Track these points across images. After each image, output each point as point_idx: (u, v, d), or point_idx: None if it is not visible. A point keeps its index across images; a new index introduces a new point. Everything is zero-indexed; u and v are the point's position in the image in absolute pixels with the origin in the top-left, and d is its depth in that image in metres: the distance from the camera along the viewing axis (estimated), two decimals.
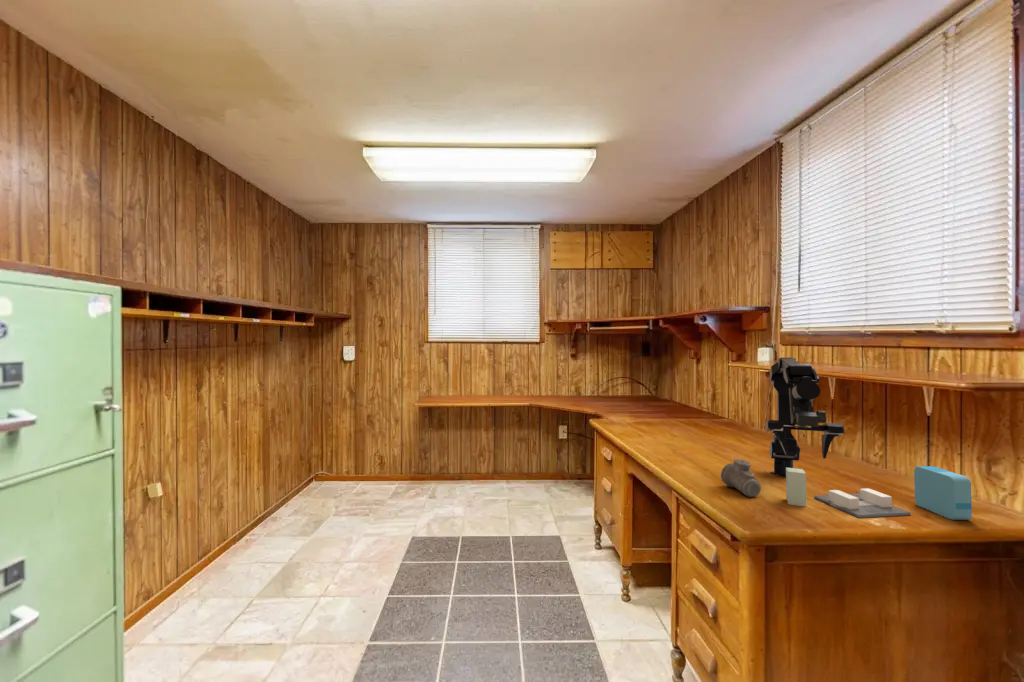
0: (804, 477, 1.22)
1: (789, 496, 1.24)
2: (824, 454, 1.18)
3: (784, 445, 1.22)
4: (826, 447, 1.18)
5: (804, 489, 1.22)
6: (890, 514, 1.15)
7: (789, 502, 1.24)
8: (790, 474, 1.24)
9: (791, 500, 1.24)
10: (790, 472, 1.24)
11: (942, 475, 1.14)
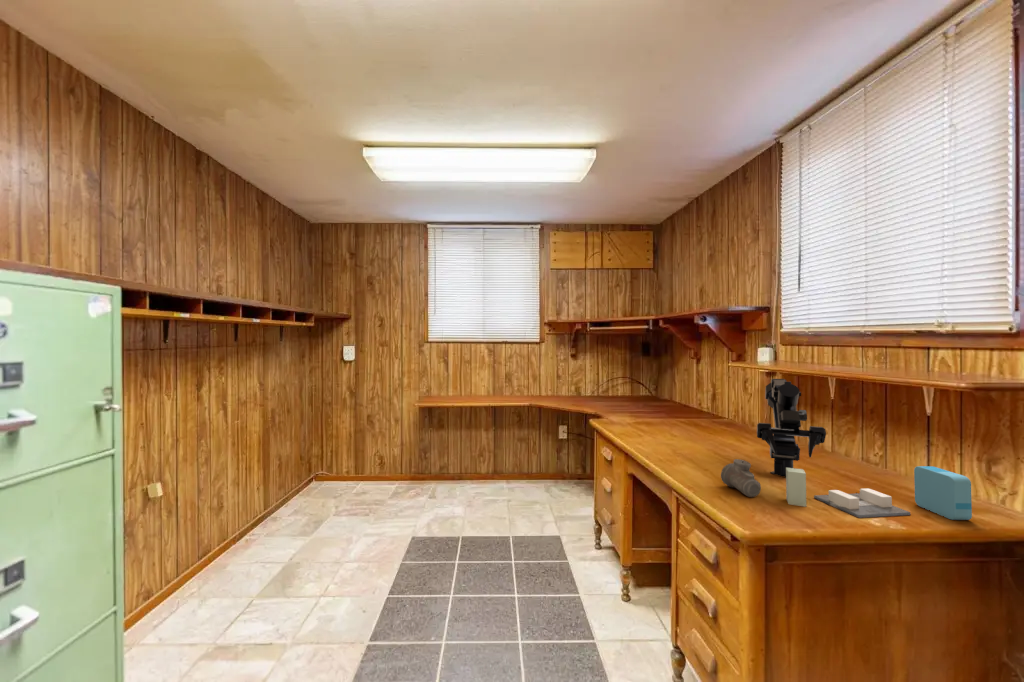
0: (804, 477, 1.22)
1: (789, 496, 1.24)
2: (810, 452, 1.28)
3: (773, 444, 1.34)
4: (811, 446, 1.29)
5: (804, 489, 1.22)
6: (890, 514, 1.15)
7: (789, 502, 1.24)
8: (790, 474, 1.24)
9: (791, 500, 1.24)
10: (790, 472, 1.24)
11: (942, 475, 1.14)
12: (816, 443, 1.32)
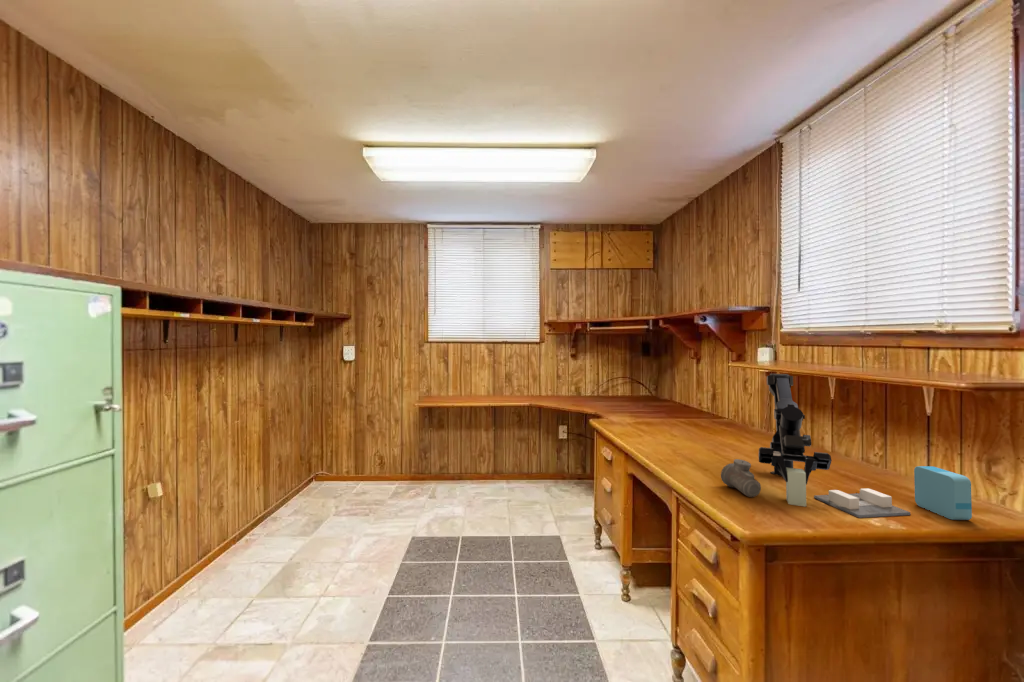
0: (804, 477, 1.22)
1: (789, 496, 1.24)
2: None
3: (783, 471, 1.26)
4: (807, 472, 1.24)
5: (804, 489, 1.22)
6: (890, 514, 1.15)
7: (789, 502, 1.24)
8: (790, 474, 1.24)
9: (791, 500, 1.24)
10: (790, 472, 1.24)
11: (942, 475, 1.14)
12: (812, 469, 1.27)
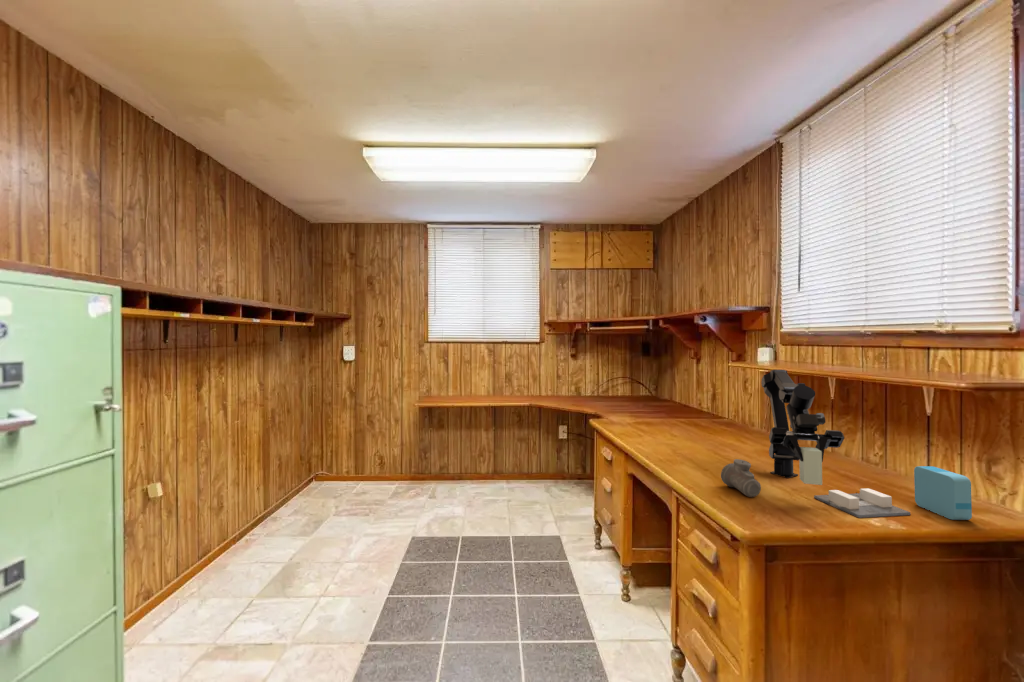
0: (820, 455, 1.21)
1: (805, 475, 1.22)
2: None
3: (798, 450, 1.25)
4: (821, 450, 1.23)
5: (820, 467, 1.21)
6: (890, 514, 1.15)
7: (805, 481, 1.22)
8: (806, 453, 1.22)
9: (806, 479, 1.22)
10: (806, 451, 1.22)
11: (942, 475, 1.14)
12: None
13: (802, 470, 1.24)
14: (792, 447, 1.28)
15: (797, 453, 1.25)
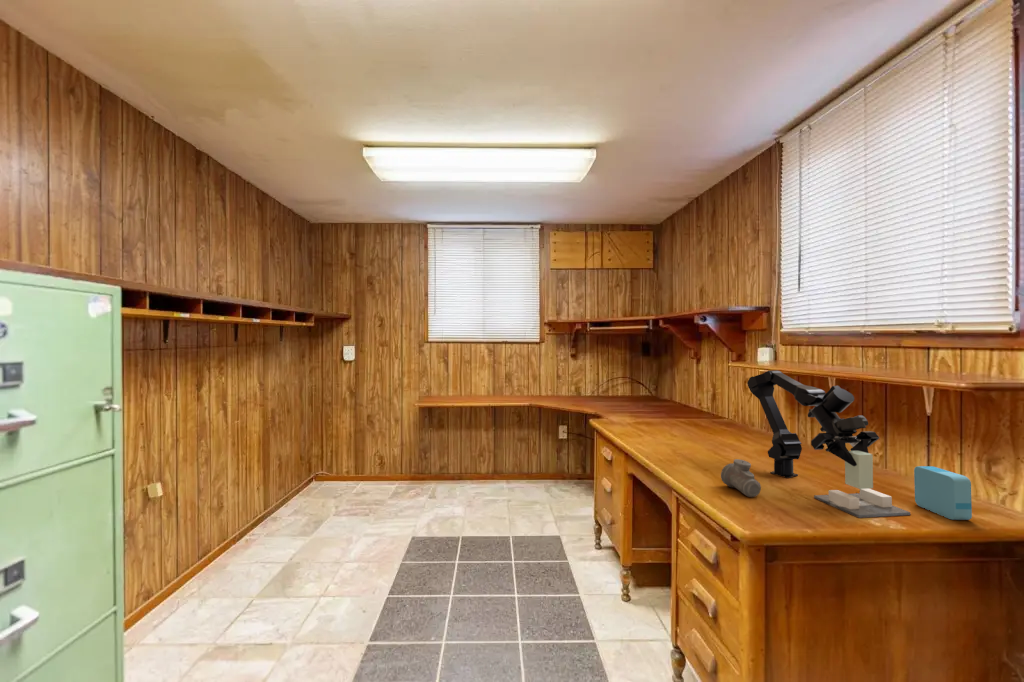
0: (871, 458, 1.20)
1: (859, 480, 1.20)
2: None
3: (849, 455, 1.22)
4: None
5: (871, 470, 1.20)
6: (890, 514, 1.15)
7: (859, 486, 1.20)
8: (860, 457, 1.20)
9: (861, 484, 1.20)
10: (860, 455, 1.20)
11: (942, 475, 1.14)
12: None
13: (853, 475, 1.21)
14: (837, 452, 1.25)
15: (848, 458, 1.22)
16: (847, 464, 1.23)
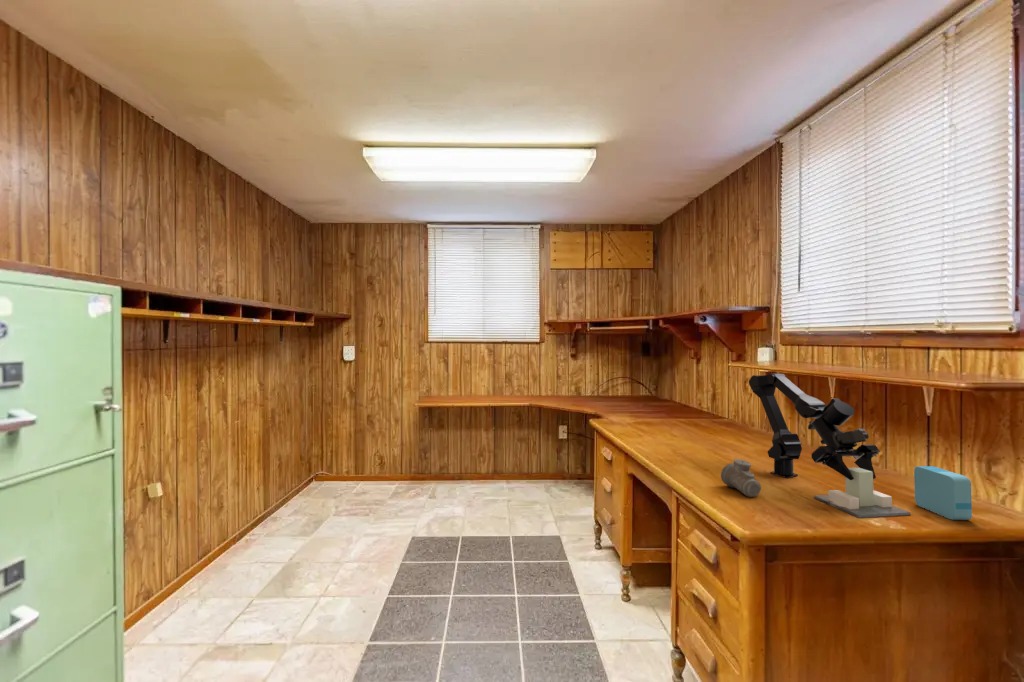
0: (872, 476, 1.20)
1: (860, 498, 1.20)
2: (873, 474, 1.21)
3: (846, 469, 1.22)
4: (871, 466, 1.23)
5: (872, 488, 1.20)
6: (890, 514, 1.15)
7: (860, 504, 1.20)
8: (860, 475, 1.20)
9: (861, 502, 1.20)
10: (860, 473, 1.20)
11: (942, 475, 1.14)
12: None
13: (854, 492, 1.21)
14: (834, 465, 1.25)
15: (845, 472, 1.22)
16: (847, 481, 1.23)
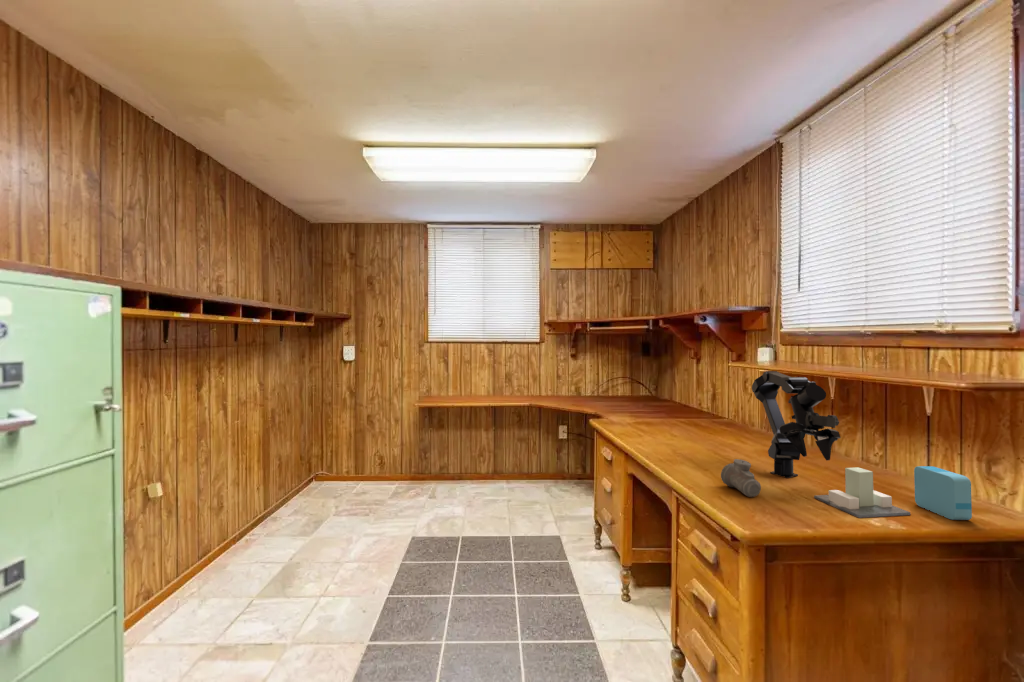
0: (872, 476, 1.20)
1: (860, 498, 1.20)
2: (828, 456, 1.31)
3: (804, 446, 1.29)
4: (829, 450, 1.32)
5: (872, 488, 1.20)
6: (890, 514, 1.15)
7: (860, 504, 1.20)
8: (860, 475, 1.20)
9: (861, 502, 1.20)
10: (860, 473, 1.20)
11: (942, 475, 1.14)
12: None
13: (854, 492, 1.21)
14: (794, 440, 1.32)
15: (801, 448, 1.30)
16: (847, 481, 1.23)
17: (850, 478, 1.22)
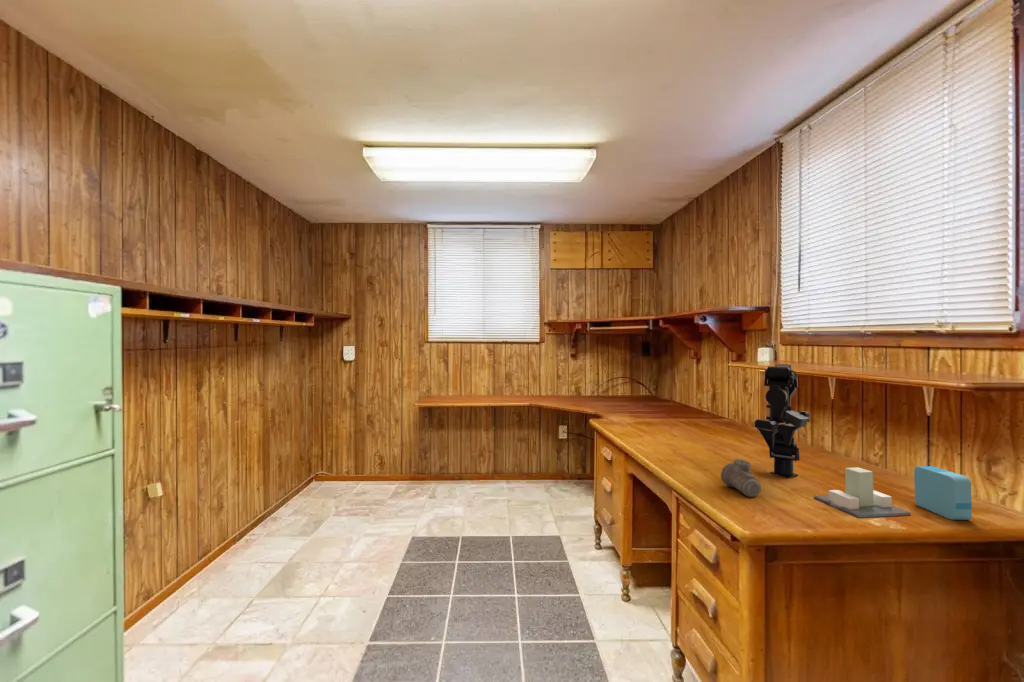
0: (872, 476, 1.20)
1: (860, 498, 1.20)
2: (789, 442, 1.43)
3: (773, 441, 1.38)
4: (791, 437, 1.42)
5: (872, 488, 1.20)
6: (890, 514, 1.15)
7: (860, 504, 1.20)
8: (860, 475, 1.20)
9: (861, 502, 1.20)
10: (860, 473, 1.20)
11: (942, 475, 1.14)
12: None
13: (854, 492, 1.21)
14: (765, 433, 1.40)
15: (770, 442, 1.39)
16: (847, 481, 1.23)
17: (850, 478, 1.22)
